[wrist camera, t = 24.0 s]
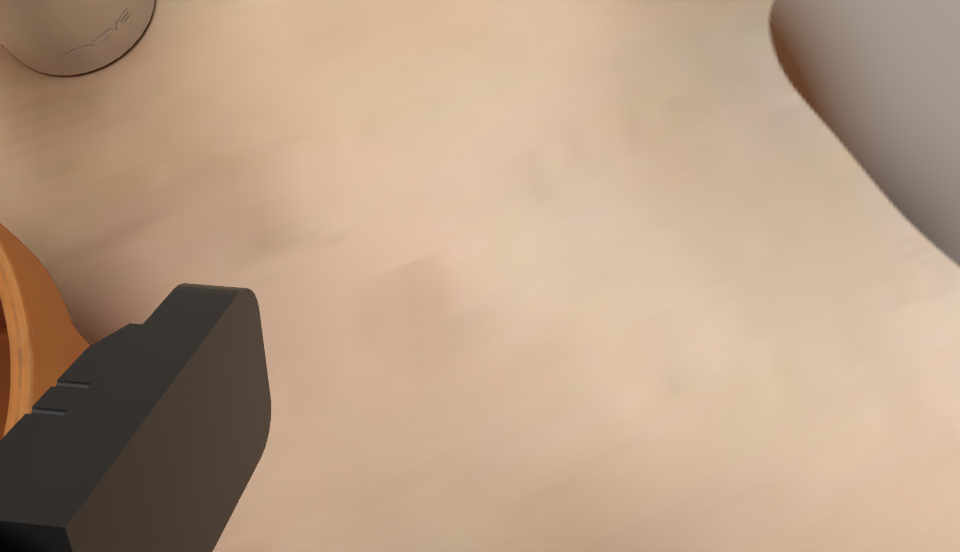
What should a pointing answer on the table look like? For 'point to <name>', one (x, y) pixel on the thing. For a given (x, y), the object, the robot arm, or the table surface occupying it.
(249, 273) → the table surface
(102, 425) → the robot arm
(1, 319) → the flower pot
